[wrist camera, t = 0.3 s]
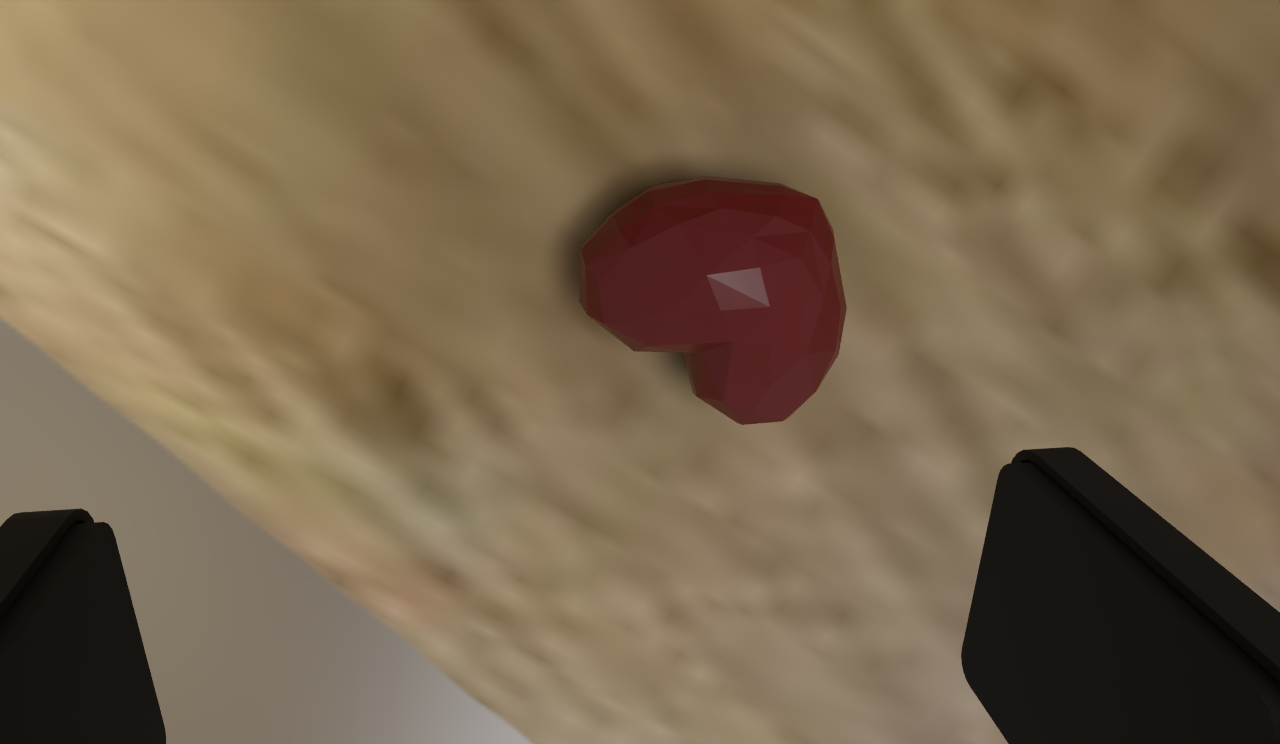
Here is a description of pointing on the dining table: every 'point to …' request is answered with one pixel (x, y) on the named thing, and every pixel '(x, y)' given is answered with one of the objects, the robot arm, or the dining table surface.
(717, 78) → the dining table surface
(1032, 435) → the dining table surface
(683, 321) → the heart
